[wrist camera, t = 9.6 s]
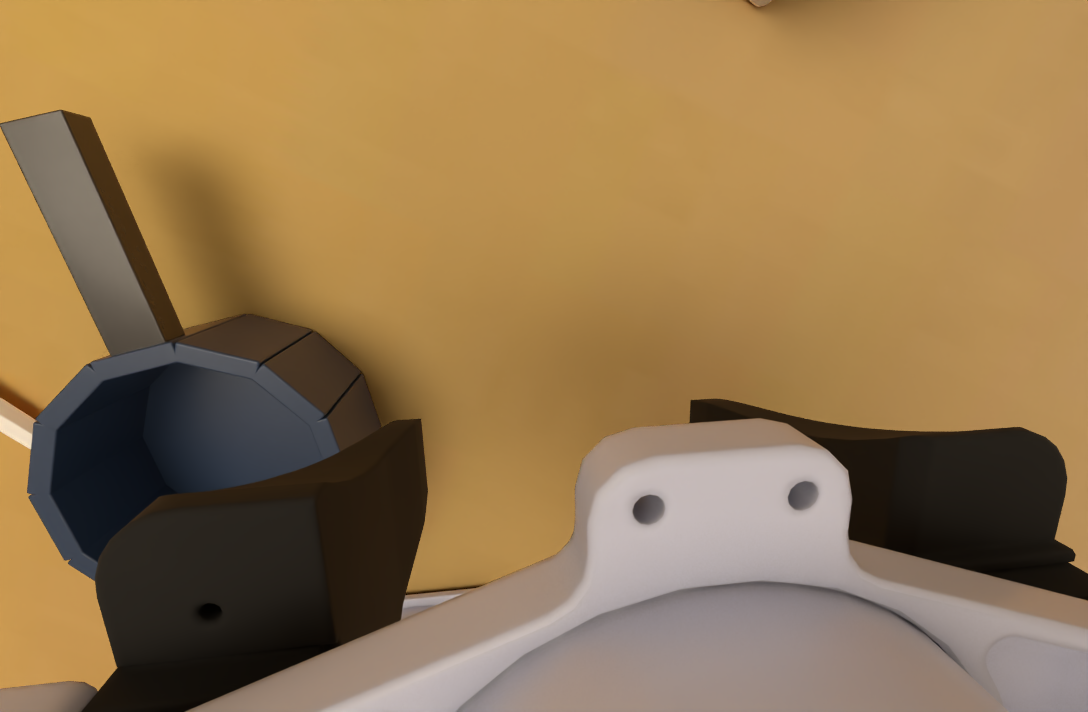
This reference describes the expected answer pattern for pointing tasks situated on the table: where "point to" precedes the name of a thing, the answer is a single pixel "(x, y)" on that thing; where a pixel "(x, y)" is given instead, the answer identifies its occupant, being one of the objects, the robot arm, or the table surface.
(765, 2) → the container
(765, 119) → the table surface
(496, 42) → the table surface
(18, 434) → the fork
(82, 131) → the pot
